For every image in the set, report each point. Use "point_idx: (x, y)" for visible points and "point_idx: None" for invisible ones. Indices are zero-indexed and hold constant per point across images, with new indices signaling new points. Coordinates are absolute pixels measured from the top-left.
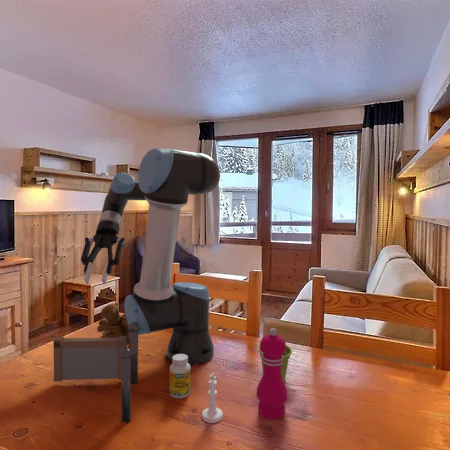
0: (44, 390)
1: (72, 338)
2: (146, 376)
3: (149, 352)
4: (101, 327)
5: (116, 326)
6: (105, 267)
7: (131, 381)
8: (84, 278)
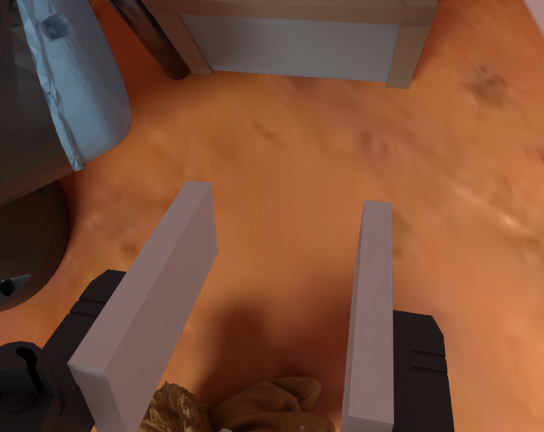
0: (430, 51)
1: (364, 4)
2: (141, 97)
3: None
4: (311, 418)
5: (238, 419)
6: (133, 287)
7: None
8: (390, 207)
